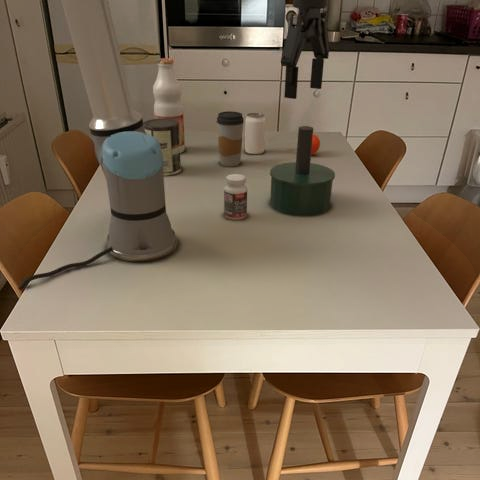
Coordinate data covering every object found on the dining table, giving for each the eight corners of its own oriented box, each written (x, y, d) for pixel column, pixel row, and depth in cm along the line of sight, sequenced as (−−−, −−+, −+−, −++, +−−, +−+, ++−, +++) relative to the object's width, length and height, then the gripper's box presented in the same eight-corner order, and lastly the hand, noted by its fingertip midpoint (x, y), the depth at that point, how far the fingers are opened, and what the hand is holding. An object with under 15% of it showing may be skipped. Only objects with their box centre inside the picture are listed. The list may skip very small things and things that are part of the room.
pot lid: (328, 191, 123) (334, 140, 116) (262, 183, 127) (264, 133, 120) (338, 170, 136) (344, 122, 129) (278, 163, 140) (281, 117, 133)
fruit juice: (151, 151, 173) (143, 59, 157) (171, 145, 179) (166, 56, 163) (170, 156, 168) (164, 62, 152) (190, 150, 174) (186, 59, 158)
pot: (323, 219, 128) (327, 188, 123) (263, 211, 132) (264, 181, 127) (333, 197, 140) (337, 168, 136) (278, 190, 144) (279, 162, 139)
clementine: (291, 154, 172) (293, 132, 168) (301, 149, 177) (303, 128, 173) (312, 159, 168) (315, 136, 164) (322, 153, 173) (324, 132, 169)
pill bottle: (237, 222, 126) (237, 182, 120) (219, 216, 129) (219, 177, 123) (251, 215, 130) (252, 176, 124) (233, 209, 133) (233, 171, 127)
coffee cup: (248, 162, 164) (249, 113, 156) (234, 169, 159) (234, 118, 150) (226, 157, 168) (226, 109, 160) (211, 164, 162) (210, 114, 154)
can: (264, 154, 171) (265, 117, 164) (244, 154, 171) (245, 117, 164) (263, 149, 177) (265, 112, 170) (244, 149, 177) (245, 112, 170)
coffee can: (171, 163, 163) (168, 116, 155) (187, 172, 156) (185, 124, 148) (141, 168, 158) (137, 121, 150) (156, 178, 151) (152, 128, 143)
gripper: (301, -12, 99) (293, 104, 111) (349, -15, 117) (338, 86, 129) (267, -13, 102) (263, 100, 114) (319, -16, 120) (311, 83, 132)
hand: (303, 93), depth 122 cm, fingers open, 13 cm apart
